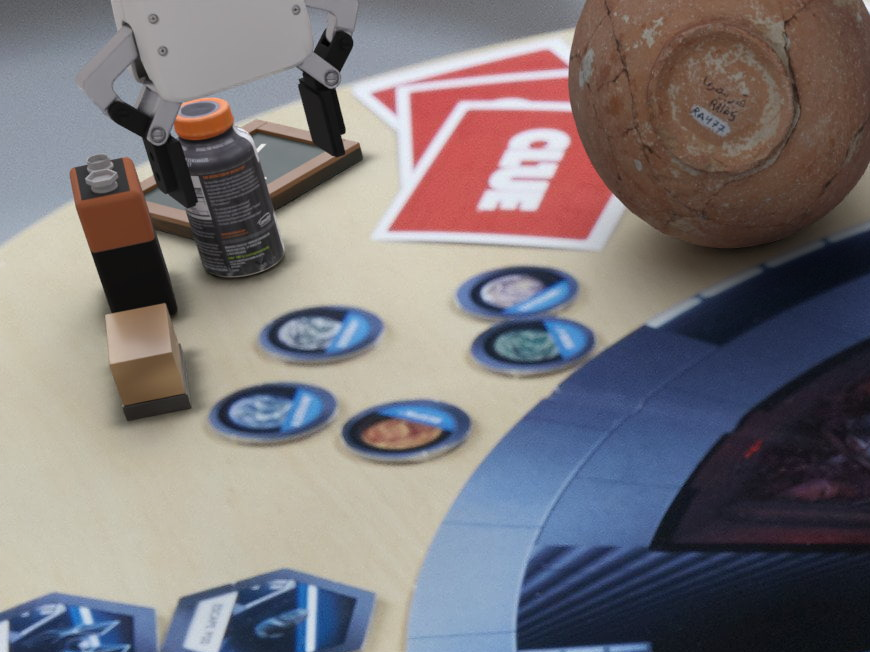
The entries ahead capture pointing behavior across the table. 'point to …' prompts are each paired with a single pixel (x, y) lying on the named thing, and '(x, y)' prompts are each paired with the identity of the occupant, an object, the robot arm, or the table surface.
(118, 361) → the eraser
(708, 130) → the jug
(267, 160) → the board
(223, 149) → the pill bottle
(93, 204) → the battery
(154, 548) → the table surface
